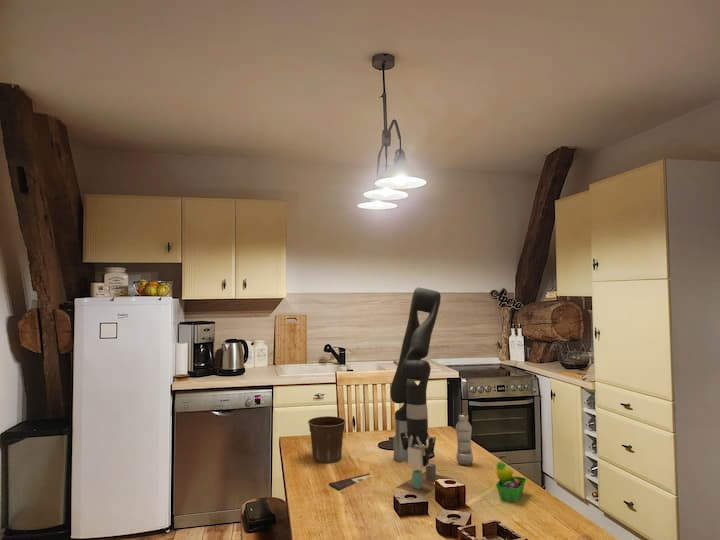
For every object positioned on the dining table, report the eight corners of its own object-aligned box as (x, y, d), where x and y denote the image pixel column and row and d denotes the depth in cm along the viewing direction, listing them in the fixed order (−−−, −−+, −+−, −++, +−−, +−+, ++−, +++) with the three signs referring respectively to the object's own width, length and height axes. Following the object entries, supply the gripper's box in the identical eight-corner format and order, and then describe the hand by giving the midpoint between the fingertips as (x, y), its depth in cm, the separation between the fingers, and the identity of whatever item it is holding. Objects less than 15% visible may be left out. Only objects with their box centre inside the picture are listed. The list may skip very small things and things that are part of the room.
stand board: (424, 498, 175) (424, 495, 175) (395, 490, 182) (395, 487, 183) (453, 481, 190) (453, 478, 190) (426, 474, 198) (425, 471, 198)
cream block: (408, 466, 182) (407, 447, 183) (416, 462, 186) (415, 444, 187) (420, 469, 179) (420, 450, 179) (428, 465, 183) (427, 446, 183)
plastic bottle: (473, 467, 206) (472, 416, 206) (456, 466, 207) (455, 416, 208) (473, 462, 212) (471, 413, 213) (456, 461, 213) (455, 412, 214)
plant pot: (351, 461, 214) (351, 423, 215) (314, 467, 208) (314, 427, 209) (338, 451, 230) (338, 414, 230) (304, 455, 224) (303, 418, 224)
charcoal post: (426, 479, 189) (425, 465, 190) (429, 477, 191) (429, 463, 192) (432, 481, 188) (431, 466, 188) (435, 479, 190) (435, 464, 190)
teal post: (412, 487, 182) (412, 471, 183) (416, 485, 184) (416, 469, 185) (418, 488, 181) (418, 473, 181) (422, 486, 183) (422, 471, 183)
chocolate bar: (328, 483, 189) (369, 473, 199) (328, 486, 189) (369, 475, 199) (341, 491, 182) (382, 480, 191) (341, 493, 182) (382, 483, 191)
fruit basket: (518, 504, 169) (517, 470, 169) (492, 499, 174) (491, 465, 174) (527, 493, 179) (526, 460, 179) (502, 488, 183) (501, 456, 184)
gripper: (394, 415, 185) (395, 463, 184) (428, 420, 176) (430, 470, 175) (406, 411, 191) (407, 457, 190) (439, 416, 182) (441, 465, 181)
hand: (418, 463), depth 183 cm, fingers closed on cream block, 5 cm apart
